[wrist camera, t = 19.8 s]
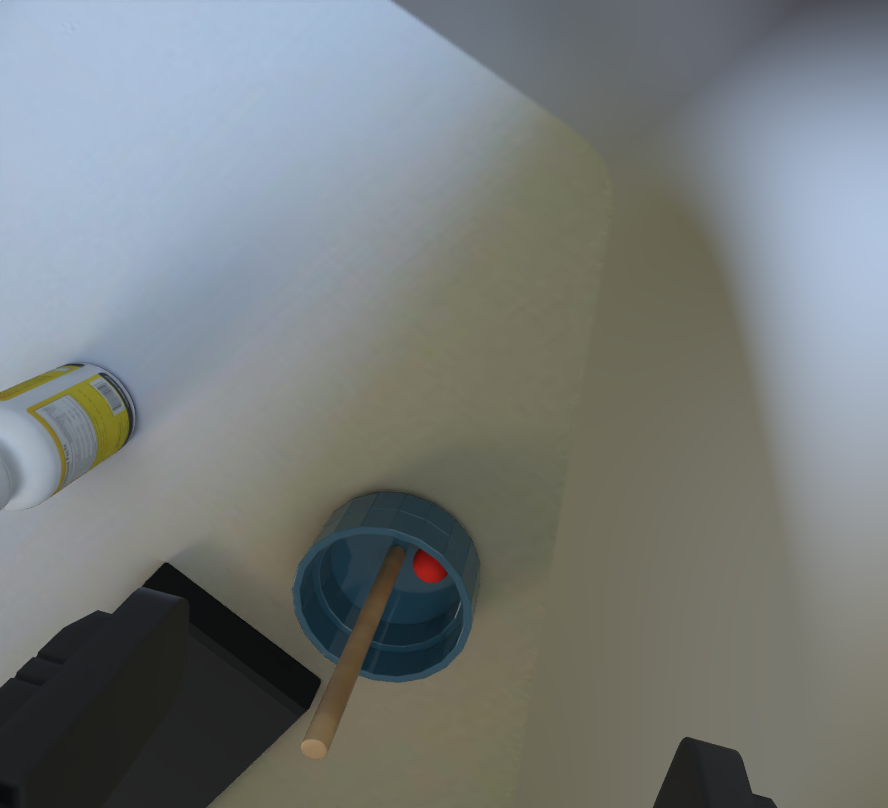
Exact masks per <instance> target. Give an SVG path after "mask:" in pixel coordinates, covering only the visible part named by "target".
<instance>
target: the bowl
mask: <svg viewBox="0 0 888 808" xmlns="http://www.w3.org/2000/svg"><path fill="white" fill-rule="evenodd" d="M392 546H400V547H402V548H403V549H404V550H405V553H406V556H405V559H404V561H403V564H402V567H401V569H400V572H399V574H398V577H397V579H396V582H395V584H394V587H393V589H392V592H391V594H390V597H389V599H388V602H387V604H386V607H385V609H384V612H383V614H382V617H381V619H380V622H379V624H378V627H377V629H376V632H375V634H374V637H373V639H372V642H371V645H370V647H369V650H368V652H367V655H366V657H365V660H364V662H363V665H362V667H361V670H360V672H359V675H360V676H362V677H365V678H368V679H370V680H371V679H372V680H377V681H386V682H396V683H398V682H399V683H400V682H406V681H412V680H418V679H424V678H426V677H428V676H430V675H432V674H434V673H436V672H438V671H440V670H442V669H444V668H446V667H447V666H448V665H449V664H450V663H451V662H452V661H453V660H454V659H455V658H456V657H457V655H458V654H459V653H460V652H461V651H462V650H463V648H464V646H465V643H466V641H467V638H468V636H469V633H470V630H471V627H472V622H473V617H474V612H475V607H476V602H477V597H478V592H479V587H480V563H479V562H480V561H479V558H478V556H477V553H476V550H475V548H474V545H473V542H472V540H471V539H470V537H469V536H468V535H467V533H466V532H465V531H464V529H463V528H462V527H461V526H460V524H459V523H458V522H457V521H456V519H454V517H452V516H451V515H449V514H448V513H446V512H445V511H444V510H442V509H441V508H439V507H438V506H437V505H435V504H434V503H432V502H429V501H426V500H423V499H420V498H418V497H415V496H412V495H409V494H405V493H388V492H380V493H379V492H378V493H374V494H370V495H366V496H362V497H357V498H355V499H353V500H351V501H349V502H348V503H346V504H345V505H343V506H342V507H340V508H339V509H337V510H336V511H334V513H333V514H332V515H331V517H330V518H329V519H328V521H327V522H326V523H325V525H324V526H323V527H322V529H321V530H320V532H319V533H318V535H317V537H316V538H315V540H314V541H313V543H312V544H311V546H310V547H309V549H308V550H307V552H306V554H305V555H304V557H303V558H302V560H301V561H300V563H299V564H298V567H297V571H296V575H295V578H294V582H293V586H292V593H293V602H294V610H295V614H296V616H297V618H298V620H299V622H300V624H301V627H302V629H303V631H304V633H305V635H306V636H307V637H308V639H309V640H310V641H311V642H312V643H313V644H314V645H315V647H316V648H317V649H318V650H319V651H320V652H321V653H322V654H323V655H324V656H325V657H327V658H328V659H330V660H331V661H332V662H334V663H335V664H338V661H339V659H340V657H341V655H342V652H343V650H344V648H345V646H346V643H347V641H348V639H349V637H350V634H351V632H352V630H353V628H354V626H355V623H356V621H357V619H358V617H359V614H360V612H361V610H362V608H363V605H364V603H365V601H366V599H367V596H368V594H369V592H370V590H371V588H372V585H373V583H374V581H375V579H376V576H377V574H378V572H379V570H380V567H381V565H382V563H383V561H384V558H385V556H386V554H387V552H388V550H389V548H390V547H392ZM419 549H422V550H423V551H425V552H426V553H428V554H429V555H430V556H432V557H433V558H435V559H436V560H438V562H439V563H440V564H441V565H442V567H443V568H444V569H445V570H446V571H447V573H448V575H447V576H446V577H445V578H444V579H443V580H441V581H439V582H437V583H427V582H424V581H422V580H421V579H419V578H418V576H417V575H416V574H415V572H414V569H413V558H414V556H415V554H416V552H417V551H418V550H419Z"/></svg>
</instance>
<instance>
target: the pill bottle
mask: <svg viewBox="0 0 888 808" xmlns="http://www.w3.org/2000/svg"><path fill="white" fill-rule="evenodd" d="M134 427H135V410H134V405H133V402H132V400H131V398H130V396H129V394H128V392H127V390H126V389H125V388H124V386H123V385H122V384H121V383H120V382H119V380H118V379H116V378H115V377H114V376H113V375H112V374H110V373H109V372H107V371H106V370H104V369H102V368H100V367H97V366H94V365H91V364H86V363H71V364H67V365H63V366H61V367H58V368H56V369H53V370H51V371H49V372H46V373H44V374H42V375H39V376H37V377H35V378H32V379H30V380H28V381H25V382H23V383H21V384H18V385H16V386H14V387H12V388H9V389H7V390H5V391H2V392H0V510H2V509H3V510H24V509H28V508H32V507H34V506H37V505H39V504H41V503H42V502H44V501H45V500H47V499H48V498H50V497H51V496H53V495H54V494H56V493H57V492H59V491H60V490H62V489H63V488H64V487H66V486H67V485H69V484H70V483H72V482H73V481H75V480H76V479H78V478H79V477H81V476H82V475H84V474H85V473H86V472H88V471H89V470H91V469H92V468H94V467H95V466H97V465H98V464H99V463H101V462H102V461H104V460H105V459H107V458H108V457H110V456H111V455H113V454H114V453H116V452H117V451H118V450H120V449H121V448H122V447H123V446H124V445H125V444H126V443H127V442H128V441H129V439H130V438H131V436H132V434H133V431H134Z"/></svg>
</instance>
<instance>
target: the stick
mask: <svg viewBox="0 0 888 808" xmlns="http://www.w3.org/2000/svg"><path fill="white" fill-rule="evenodd" d="M405 556H406V553H405V550H404V549H403V548H402V547H400V546H392V547H390V548H389V550H388V552H387V554H386V556H385V558H384V561H383V563H382V565H381V567H380V570H379V572H378V574H377V576H376V579H375V581H374V583H373V585H372V588H371V590H370V592H369V594H368V596H367V599H366V601H365V603H364V605H363V608H362V610H361V612H360V614H359V617H358V619H357V621H356V623H355V626H354V628H353V630H352V632H351V634H350V637H349V639H348V641H347V643H346V646H345V648H344V650H343V652H342V655H341V657H340V659H339V661H338V664H337V666H336V668H335V670H334V673H333V675H332V677H331V679H330V681H329V684H328V686H327V688H326V690H325V693H324V695H323V697H322V699H321V702H320V704H319V706H318V708H317V711H316V713H315V715H314V717H313V720H312V722H311V724H310V726H309V728H308V731H307V733H306V735H305V737H304V740H303V742H302V745H301V748H302V751H303V753H304V754H305V755H306V756H307V757H308V758H310V759H314V760H320V759H323V758H324V757H325V756H326V755H327V753H328V750H329V748H330V745H331V743H332V740H333V738H334V735H335V733H336V730H337V728H338V725H339V723H340V720H341V717H342V715H343V712H344V710H345V707H346V705H347V702H348V700H349V697H350V695H351V692H352V690H353V687H354V685H355V682H356V680H357V677H358V675H359V672H360V670H361V667H362V665H363V662H364V660H365V657H366V655H367V652H368V650H369V647H370V645H371V642H372V639H373V637H374V634H375V632H376V629H377V627H378V624H379V622H380V619H381V617H382V614H383V612H384V609H385V607H386V604H387V602H388V599H389V597H390V594H391V592H392V589H393V587H394V584H395V582H396V579H397V577H398V574H399V572H400V569H401V567H402V564H403V561H404V559H405Z"/></svg>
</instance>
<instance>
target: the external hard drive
mask: <svg viewBox="0 0 888 808" xmlns="http://www.w3.org/2000/svg"><path fill="white" fill-rule="evenodd" d="M142 587H145V588H148V589H152V590H156V591H159V592H163V593H167V594H170V595H174V596H178V597H181V598H185V599H187V600H188V603H189V625H188V642H187V659H186V672H185V678H184V682H183V685H182V688H181V691H180V694H179V696H178V698H177V700H176V702H175V704H174V706H173V708H172V710H171V711H170V713H169V714H168V716H167V717H166V718H165V720H164V721H163V723H162V724H161V725H160V727H159V728H158V730H157V731H156V733H155V734H154V735H153V737H152V738H151V740H150V741H149V742H148V744H147V745H146V747H145V748H144V750H143V751H142V752H141V754H140V755H139V757H138V758H137V759H136V761H135V762H134V764H133V765H132V767H131V768H130V769H129V771H128V772H127V774H126V775H125V776H124V778H123V779H122V781H121V782H120V784H119V785H118V786H117V788H116V789H115V791H114V792H113V793H112V795H111V796H110V798H109V799H108V800H107V802H106V803H105V805H104V806H103V808H206V807H207V806H208V805H209V804H210V803H211V802H212V801H213V800H214V799H215V798H216V797H218V796H219V795H220V794H221V793H222V792H223V791H224V790H225V789H226V788H227V787H228V786H229V785H230V784H231V783H232V782H233V781H234V780H235V779H236V778H237V777H238V776H239V775H240V774H241V773H242V772H244V771H245V770H246V769H247V768H248V767H249V766H250V765H251V764H252V763H253V762H254V761H255V760H256V759H257V758H258V757H259V756H260V755H261V754H262V753H263V752H264V751H265V750H266V749H267V748H268V747H270V746H271V745H272V744H273V743H274V742H275V741H276V740H277V739H278V738H279V737H280V736H281V735H282V734H283V733H284V732H285V731H286V730H287V729H288V728H289V727H290V726H291V725H292V724H293V723H295V722H296V721H297V720H298V719H299V718H300V717H301V716H302V715H303V714H304V713H305V712H306V711H307V710H308V709H309V708H310V705H311V703H312V701H313V699H314V697H315V695H316V692H317V690H318V688H319V686H320V684H321V681H320V679H319V678H318V677H317V676H315V675H314V674H313V673H311V672H310V671H309V670H307V669H306V668H305V667H303V666H302V665H301V664H300V663H298V662H297V661H296V660H294V659H293V658H292V657H290V656H289V655H288V654H286V653H285V652H284V651H283V650H281V649H280V648H279V647H277V646H276V645H275V644H273V643H272V642H271V641H269V640H268V639H267V638H266V637H264V636H263V635H262V634H260V633H259V632H258V631H256V630H255V629H254V628H252V627H251V626H250V625H248V624H247V623H246V622H245V621H243V620H242V619H241V618H239V617H238V616H237V615H235V614H234V613H233V612H231V611H230V610H229V609H228V608H226V607H225V606H224V605H222V604H221V603H220V602H218V601H217V600H216V599H214V598H213V597H212V596H210V595H209V594H208V593H207V592H205V591H204V590H203V589H201V588H200V587H199V586H197V585H196V584H195V583H193V582H192V581H191V580H190V579H188V578H187V577H186V576H184V575H183V574H182V573H180V572H179V571H178V570H176V569H175V568H174V567H172V566H171V565H170V564H168V563H164V564H163V565H162V566H161V567H160V568H159V569H158V570H157V571H156V572H155V573H154V574H153V575H152V576H151V577H150V578H149V579H148V580H147V581H146V582H145V583H144V585H143V586H142Z"/></svg>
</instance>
